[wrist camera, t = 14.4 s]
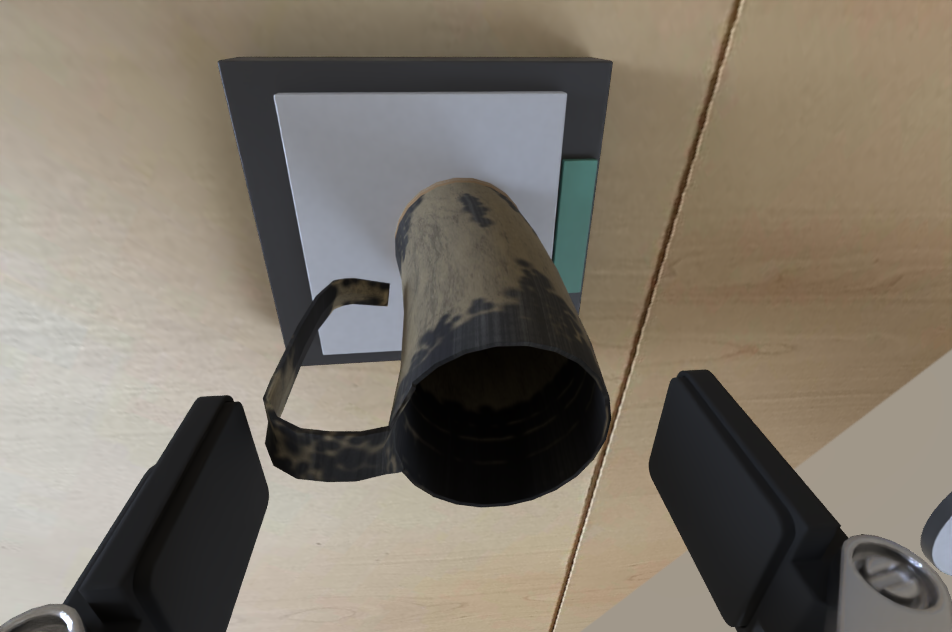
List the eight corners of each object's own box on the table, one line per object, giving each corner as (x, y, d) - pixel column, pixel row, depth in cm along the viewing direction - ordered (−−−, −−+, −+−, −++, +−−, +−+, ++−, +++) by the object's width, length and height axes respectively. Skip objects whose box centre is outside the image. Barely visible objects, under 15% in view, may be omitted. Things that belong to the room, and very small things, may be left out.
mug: (544, 189, 19) (691, 372, 9) (514, 307, 22) (601, 552, 12) (341, 157, 18) (242, 332, 8) (335, 288, 21) (256, 547, 10)
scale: (593, 57, 20) (619, 61, 17) (562, 325, 26) (577, 357, 24) (237, 56, 18) (209, 61, 16) (299, 339, 25) (286, 375, 23)
